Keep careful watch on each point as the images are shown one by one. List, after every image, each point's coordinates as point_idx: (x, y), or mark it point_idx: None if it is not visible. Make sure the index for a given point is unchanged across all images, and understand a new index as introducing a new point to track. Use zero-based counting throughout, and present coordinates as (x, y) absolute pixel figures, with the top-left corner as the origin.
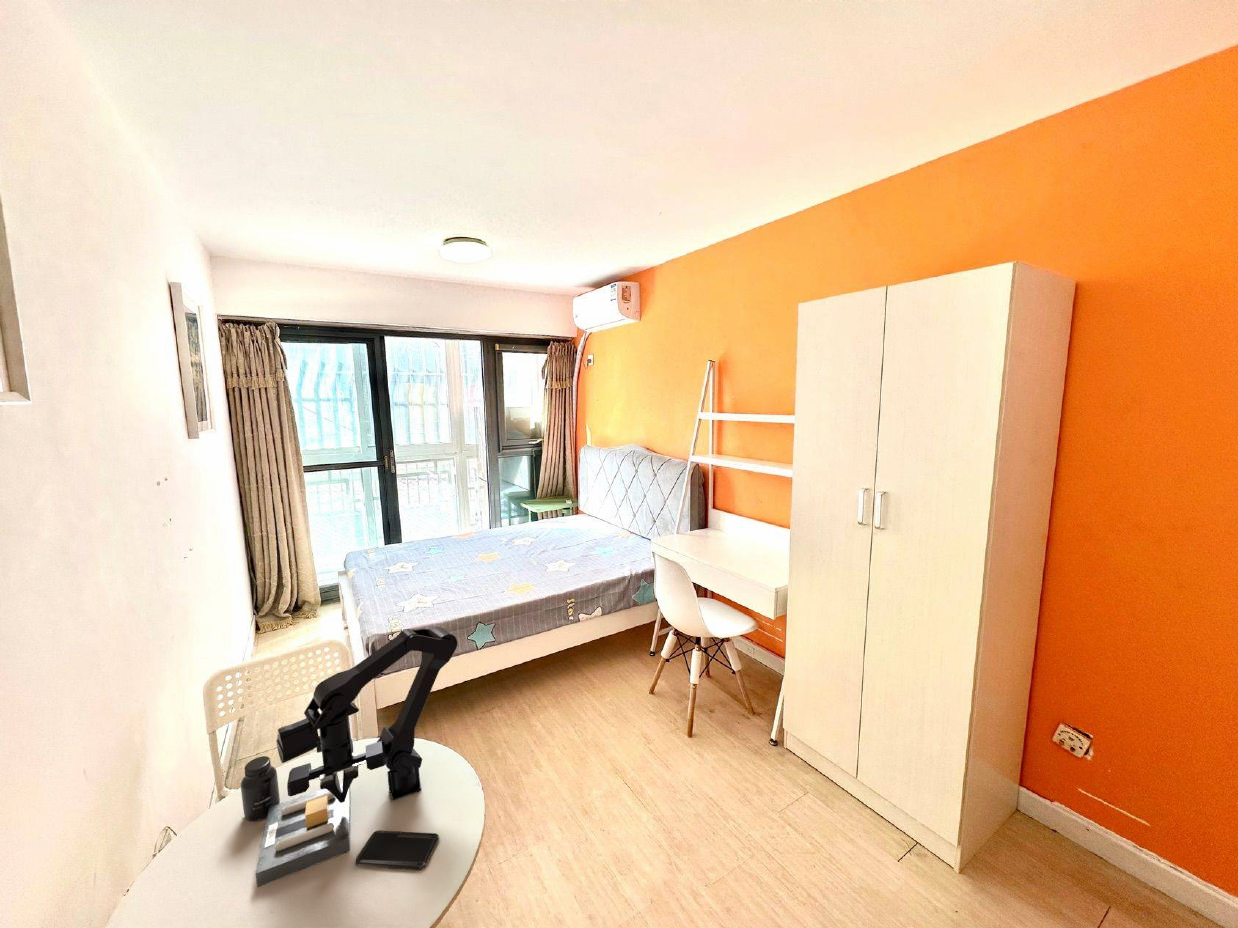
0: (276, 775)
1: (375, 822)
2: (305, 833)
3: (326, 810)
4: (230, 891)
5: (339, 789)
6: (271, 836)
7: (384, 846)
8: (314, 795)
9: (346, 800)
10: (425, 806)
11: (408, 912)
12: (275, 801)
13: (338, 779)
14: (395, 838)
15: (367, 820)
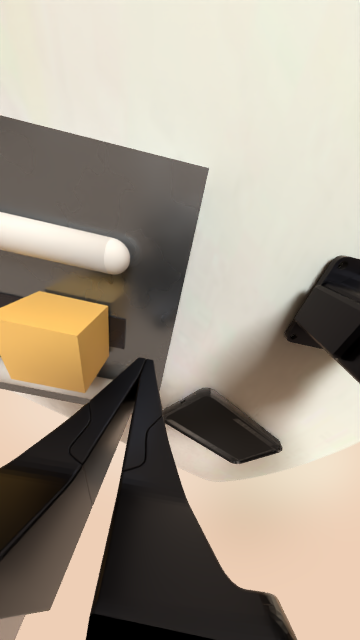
0: None
1: (218, 365)
2: (48, 390)
3: (89, 384)
4: None
5: (114, 441)
6: None
7: (208, 421)
8: (32, 161)
9: (168, 310)
10: (317, 392)
11: (198, 473)
12: None
13: (93, 449)
14: (229, 419)
15: (206, 350)
